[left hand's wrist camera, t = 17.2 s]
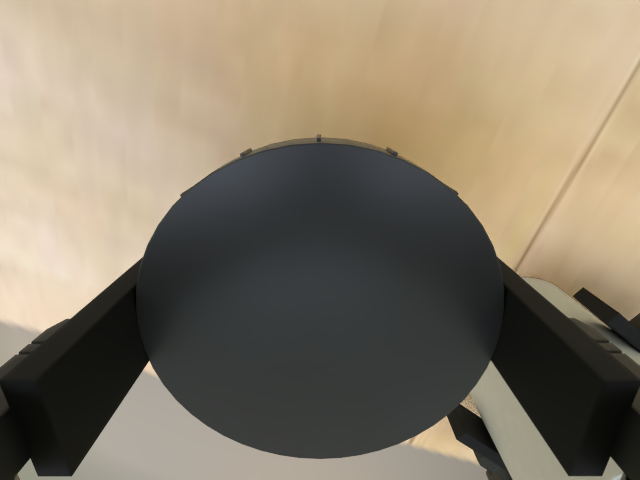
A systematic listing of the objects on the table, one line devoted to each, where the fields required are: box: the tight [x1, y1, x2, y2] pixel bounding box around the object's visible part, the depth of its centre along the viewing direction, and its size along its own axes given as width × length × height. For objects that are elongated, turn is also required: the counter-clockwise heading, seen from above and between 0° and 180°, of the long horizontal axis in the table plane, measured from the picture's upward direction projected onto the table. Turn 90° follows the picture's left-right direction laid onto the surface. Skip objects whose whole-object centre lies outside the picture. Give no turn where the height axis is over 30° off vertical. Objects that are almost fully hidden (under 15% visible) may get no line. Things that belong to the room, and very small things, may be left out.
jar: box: [469, 277, 640, 480], centre depth 21 cm, size 10×10×16 cm
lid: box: [136, 135, 504, 459], centre depth 11 cm, size 11×11×2 cm
